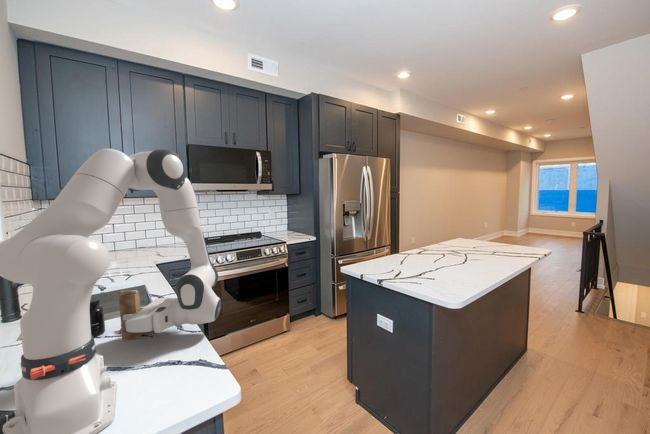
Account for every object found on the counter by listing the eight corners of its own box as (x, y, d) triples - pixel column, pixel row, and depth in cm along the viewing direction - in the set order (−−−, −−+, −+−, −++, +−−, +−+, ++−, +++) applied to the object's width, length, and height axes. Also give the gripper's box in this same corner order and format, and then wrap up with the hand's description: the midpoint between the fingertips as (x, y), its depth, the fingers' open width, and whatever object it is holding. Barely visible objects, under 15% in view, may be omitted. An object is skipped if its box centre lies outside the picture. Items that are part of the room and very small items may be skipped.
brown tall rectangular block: (142, 335, 98) (138, 289, 96) (138, 338, 95) (134, 291, 94) (126, 336, 97) (123, 290, 96) (122, 339, 95) (118, 292, 94)
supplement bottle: (91, 340, 95) (88, 305, 94) (74, 338, 96) (71, 304, 96) (110, 330, 102) (107, 297, 101) (94, 329, 103) (92, 296, 102)
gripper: (182, 292, 107) (144, 294, 106) (155, 315, 86) (106, 317, 85) (184, 309, 107) (145, 311, 106) (156, 335, 87) (108, 338, 86)
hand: (127, 314), depth 96 cm, fingers closed on brown tall rectangular block, 2 cm apart
